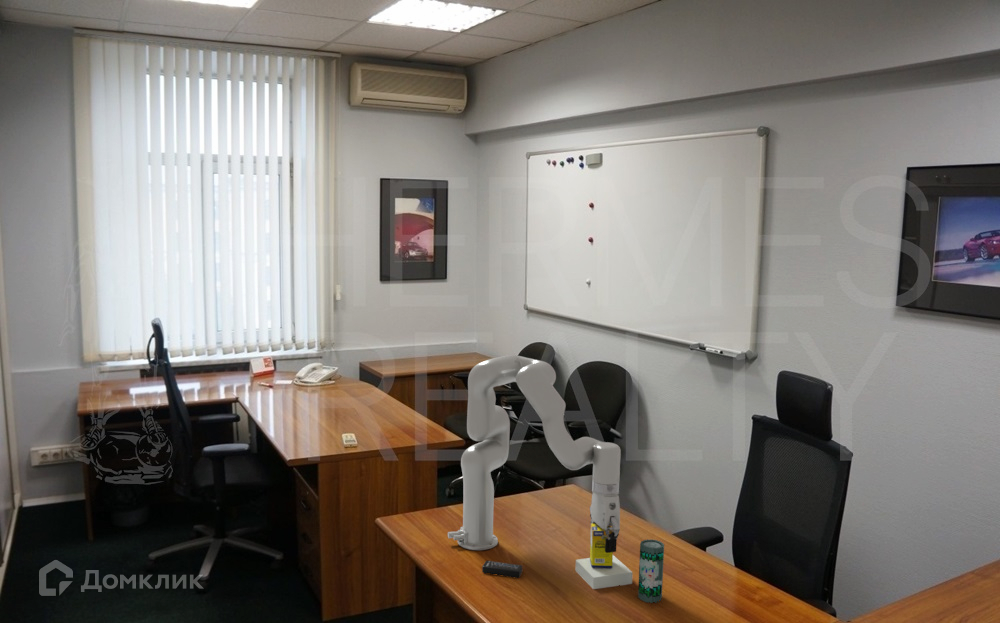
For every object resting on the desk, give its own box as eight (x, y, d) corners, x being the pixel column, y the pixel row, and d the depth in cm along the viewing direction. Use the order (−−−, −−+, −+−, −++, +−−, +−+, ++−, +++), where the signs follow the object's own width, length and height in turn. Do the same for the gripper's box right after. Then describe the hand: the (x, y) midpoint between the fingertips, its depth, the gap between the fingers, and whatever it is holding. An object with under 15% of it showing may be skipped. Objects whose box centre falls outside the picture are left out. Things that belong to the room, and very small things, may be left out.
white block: (593, 591, 212) (593, 577, 211) (575, 572, 223) (575, 559, 223) (631, 585, 215) (632, 572, 215) (612, 567, 227) (613, 554, 226)
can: (636, 600, 206) (638, 546, 204) (640, 590, 211) (642, 538, 210) (659, 604, 204) (662, 550, 202) (662, 594, 209) (665, 541, 208)
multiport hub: (518, 579, 217) (519, 571, 217) (481, 574, 220) (482, 566, 220) (522, 572, 222) (522, 565, 221) (486, 567, 225) (486, 560, 224)
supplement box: (612, 568, 217) (613, 531, 216) (591, 568, 217) (592, 530, 216) (610, 559, 223) (611, 523, 222) (589, 559, 223) (590, 523, 222)
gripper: (631, 496, 210) (628, 556, 212) (604, 476, 226) (601, 532, 228) (606, 498, 207) (604, 559, 209) (581, 478, 224) (578, 534, 226)
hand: (602, 544), depth 219 cm, fingers open, 9 cm apart
